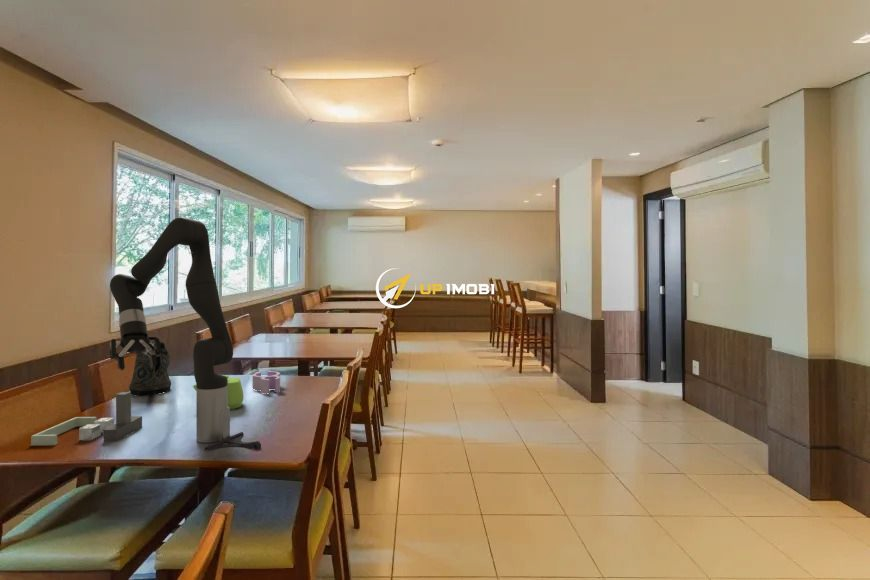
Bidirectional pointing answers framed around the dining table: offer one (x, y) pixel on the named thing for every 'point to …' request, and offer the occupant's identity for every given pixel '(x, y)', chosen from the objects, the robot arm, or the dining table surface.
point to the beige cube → (105, 423)
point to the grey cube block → (90, 432)
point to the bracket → (234, 443)
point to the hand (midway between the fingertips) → (138, 368)
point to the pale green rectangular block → (59, 430)
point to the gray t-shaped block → (122, 419)
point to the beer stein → (150, 373)
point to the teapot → (233, 392)
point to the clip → (266, 381)
